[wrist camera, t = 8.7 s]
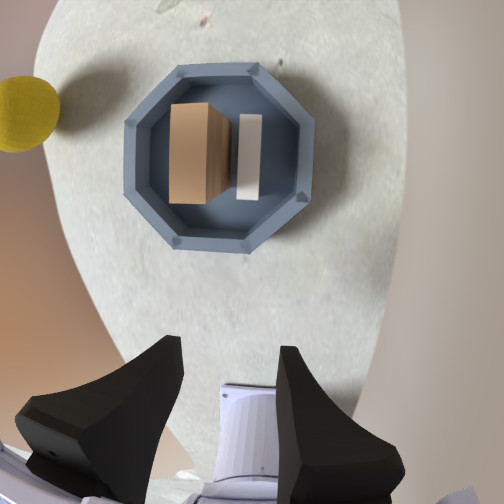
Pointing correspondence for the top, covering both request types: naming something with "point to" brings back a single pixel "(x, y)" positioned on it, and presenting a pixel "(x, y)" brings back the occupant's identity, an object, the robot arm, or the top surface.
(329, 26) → the top surface
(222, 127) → the brown wooden plank
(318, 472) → the robot arm
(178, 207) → the octagonal blue tray
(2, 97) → the lemon
